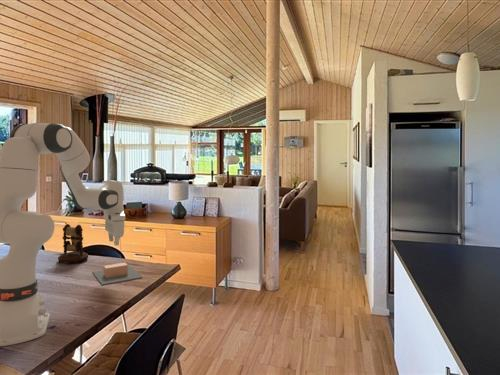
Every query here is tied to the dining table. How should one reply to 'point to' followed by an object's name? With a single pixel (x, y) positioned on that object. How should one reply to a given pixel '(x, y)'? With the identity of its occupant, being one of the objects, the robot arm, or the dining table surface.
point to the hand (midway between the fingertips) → (113, 243)
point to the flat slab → (115, 279)
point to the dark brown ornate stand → (73, 245)
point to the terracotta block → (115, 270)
